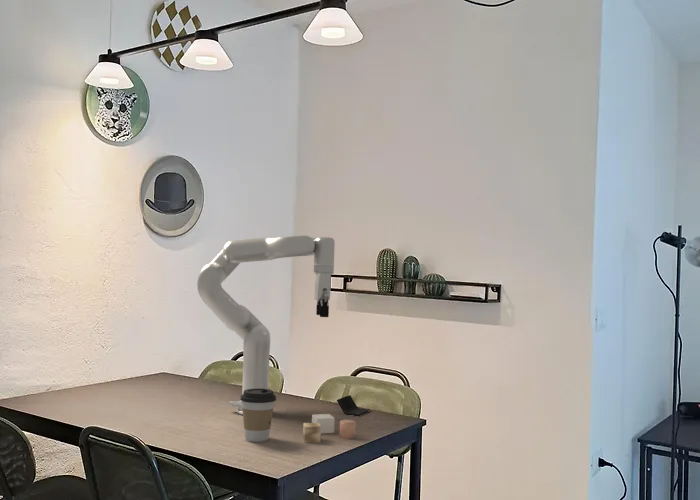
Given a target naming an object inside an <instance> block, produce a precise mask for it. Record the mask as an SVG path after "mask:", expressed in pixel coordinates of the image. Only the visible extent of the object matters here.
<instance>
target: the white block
mask: <svg viewBox="0 0 700 500" xmlns="http://www.w3.org/2000/svg"><path fill="white" fill-rule="evenodd" d="M311 423H319V424H320V426H321V434H333V433H335V417H334V416H333V415H331V414H330V413H320V414H311Z"/></svg>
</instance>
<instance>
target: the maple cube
mask: <svg viewBox="0 0 700 500" xmlns="http://www.w3.org/2000/svg"><path fill="white" fill-rule="evenodd" d="M321 434H322V433H321V426H320V424H319V423H312V422H303V423H302V439H303V442H304V443H308V444H309V443H321V436H322V435H321Z"/></svg>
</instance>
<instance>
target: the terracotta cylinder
mask: <svg viewBox="0 0 700 500" xmlns="http://www.w3.org/2000/svg"><path fill="white" fill-rule="evenodd" d="M339 438H341V439H344V440H351V439H355V438H356V421H355V420H352V419H342V420H340V421H339Z"/></svg>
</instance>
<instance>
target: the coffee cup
mask: <svg viewBox="0 0 700 500" xmlns="http://www.w3.org/2000/svg"><path fill="white" fill-rule="evenodd" d="M239 401H242V410H243V415H242V419H243V428H244V431H243V432H244V437H245V441H247V442H251V443H262V442H266V441H268V440H269V437H270V433H271V427H272V426H271V425H272V419H273V414H274V406H275V402H276V401H277V396H276V395H275V394H274V391H273V389H269V388H268V389H259V388H256V389H247V390H244V392H243V395H242V394H241V395H240V398H239Z"/></svg>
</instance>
